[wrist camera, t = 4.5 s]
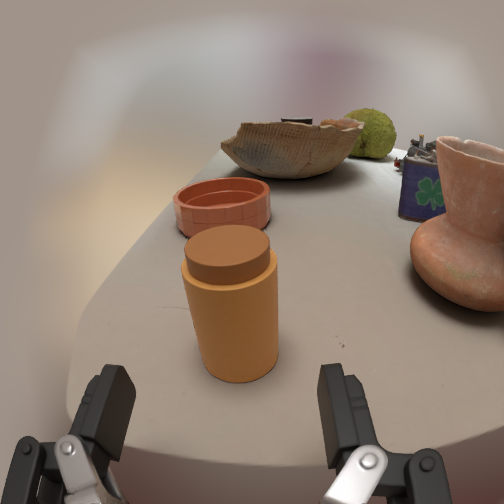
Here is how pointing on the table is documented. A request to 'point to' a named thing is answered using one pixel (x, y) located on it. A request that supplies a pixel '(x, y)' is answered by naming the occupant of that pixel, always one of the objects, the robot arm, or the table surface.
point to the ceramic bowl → (292, 147)
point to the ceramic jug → (465, 227)
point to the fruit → (373, 134)
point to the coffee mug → (298, 120)
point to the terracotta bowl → (222, 204)
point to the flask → (421, 189)
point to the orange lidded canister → (233, 300)
